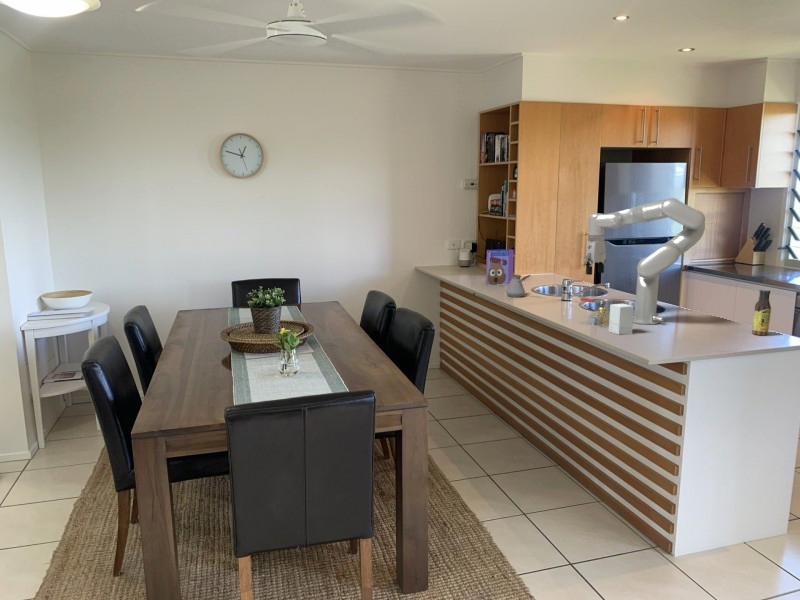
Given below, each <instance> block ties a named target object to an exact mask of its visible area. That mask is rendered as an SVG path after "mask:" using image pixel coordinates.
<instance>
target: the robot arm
mask: <svg viewBox="0 0 800 600" xmlns="http://www.w3.org/2000/svg"><path fill="white" fill-rule="evenodd" d="M666 218H669V219H670V220H672V221H674V222H676V223H678V224H680V225H682V226H684V228H683V229H682V230H681V231H680V232H679V233H677V234H676V235H675V236H674V237H672V238H671V239H669V240H668V241H667V242H665V243H663V244H661V245H660V246H659V248H657V249H656V250H655V251H653V252H652V253H651V254H649V255H648V256H646V257H643V258H641V259H640V260H639V262H638V263H637V266H636V271H637V276H636V289H635V290H636V291H635V302H634V303H635V306H634V316H633V323H635V324H637V325H638V324H640V325H657V324H659V323H660V322H664V317H663V316H660V315H659V313H657V305H658V292H659V280H660V279H659V278H660V274H662V273H663V272H665V271H666V270H667V269H669V268H670V267H671V266H673V265H674V264H675V263H676V262H677V261H678V260H679V258H680V256H682V255H683V254H684V253H686V252H687V251H689V250H690V249H691V248H693V247H694V246H695V245H696V244H697V243H698V242H699V241H700V240H701V239H702V237H703V235H704V233H705V230H706V216H705V214H704V212H703V211H700V210H699V209H696V208H694V207H692V206H690V205H688V204H686V203H684V202H682V201H680V200H679V199H677V198H676V197H675V198H674V197H669V198H665V199H661V200H658V201H657V200H656V201H653V202H649V203H643V204H639V205H637V206H634V207H630V208H626V209H622V210H618V211H615V212H614V211H613V212H610V213H603V212H602V213H598V212H597V213H596V212H595V213H590V214H589V216H588V227H587V228H588V229H587V232H588V233H587V246H586V255H585V257H584V258H583V261H584V265H585V274H586V275H588V276H591V275H593V264H596V263H598V264H597V273H599V274H600V273H601V274H604V273H605V264H606V261H607V257H608V256H607V254H606V243H605V231H606V230H605V229H609V230H611V229H612V230H614V229H615V230H616V229H617V228H620V227H623V226H628V225H632V224H644V223H645V224H646V223H649V222H653V221H657V220H662V219H663V220H664V219H666Z"/></svg>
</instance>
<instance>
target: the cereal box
mask: <svg viewBox="0 0 800 600" xmlns="http://www.w3.org/2000/svg"><path fill="white" fill-rule="evenodd" d="M514 254H515V253H514V249H512V248H510V249H507V248H506V249H503V248H501V249H486V274H485V285H486V284H487V285H486V286H488V285H497V284H509V283H510V281H511V279H512V278H511V275H514V257H515V256H514Z"/></svg>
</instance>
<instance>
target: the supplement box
mask: <svg viewBox="0 0 800 600" xmlns="http://www.w3.org/2000/svg"><path fill="white" fill-rule="evenodd" d="M634 309H635V306H634V305H631V304H626V303H614V304H609V311H610V318H609V326H608V332H610V333H613V334H615V335H618V336H620V335H632V334H633V323H634V322H633V318H634Z"/></svg>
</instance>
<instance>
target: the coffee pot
mask: <svg viewBox="0 0 800 600" xmlns="http://www.w3.org/2000/svg"><path fill="white" fill-rule="evenodd" d="M521 277H522V275H521V274H513V275H511V278H512V279H511V281H510V283H509V285H507V287H506V290H505V293H506V295H507V296H508V297H510V298H522V297H523V296H524V295H525V294H526V291H525V288H524V286H523V283H522V281H523V280H525V279H527V278H528V279H532V277H533V276H532V275H531V274H529V275H526V276H524V277H522V278H521Z"/></svg>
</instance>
